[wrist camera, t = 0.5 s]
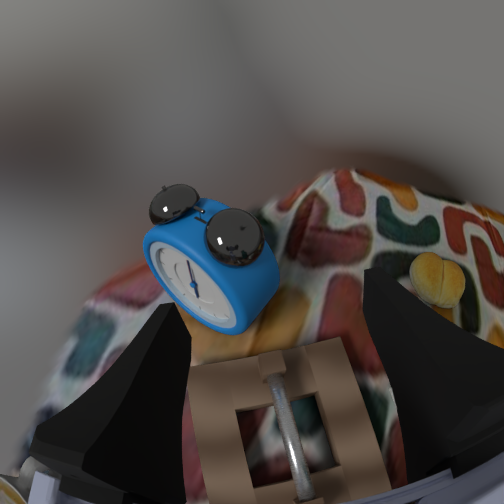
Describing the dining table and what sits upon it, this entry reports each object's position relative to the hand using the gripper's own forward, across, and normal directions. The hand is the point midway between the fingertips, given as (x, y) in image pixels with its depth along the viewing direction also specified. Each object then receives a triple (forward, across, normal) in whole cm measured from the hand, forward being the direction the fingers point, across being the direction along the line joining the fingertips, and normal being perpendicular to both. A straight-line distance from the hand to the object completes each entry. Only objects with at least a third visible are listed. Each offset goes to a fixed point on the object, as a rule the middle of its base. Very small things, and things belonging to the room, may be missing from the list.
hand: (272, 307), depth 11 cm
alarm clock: (+18, +8, +15) cm, 24 cm away
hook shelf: (+2, +2, +20) cm, 21 cm away
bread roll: (+20, -22, +21) cm, 36 cm away
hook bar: (+1, +1, +17) cm, 17 cm away
